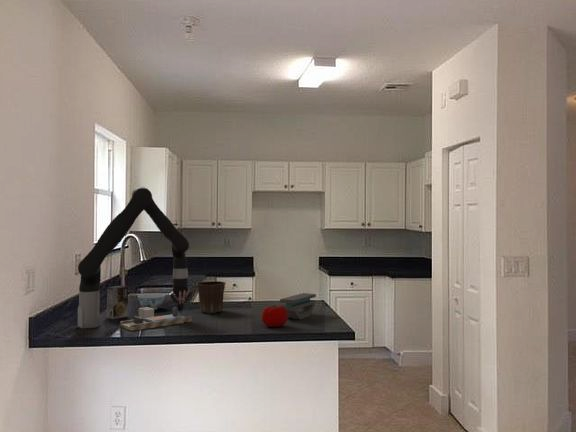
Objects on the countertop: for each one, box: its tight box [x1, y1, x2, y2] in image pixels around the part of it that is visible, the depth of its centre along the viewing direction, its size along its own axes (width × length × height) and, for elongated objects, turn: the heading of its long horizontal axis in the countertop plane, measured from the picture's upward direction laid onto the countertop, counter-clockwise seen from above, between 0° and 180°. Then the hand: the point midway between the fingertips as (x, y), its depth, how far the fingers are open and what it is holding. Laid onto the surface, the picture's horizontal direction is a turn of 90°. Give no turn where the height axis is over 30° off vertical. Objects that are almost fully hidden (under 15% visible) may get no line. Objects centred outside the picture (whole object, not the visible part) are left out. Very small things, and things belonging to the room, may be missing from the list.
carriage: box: [144, 307, 183, 322], centre depth 260 cm, size 16×9×5 cm, turn 131°
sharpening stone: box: [279, 292, 317, 320], centre depth 276 cm, size 25×8×11 cm, turn 150°
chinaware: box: [137, 293, 166, 311], centre depth 300 cm, size 15×15×8 cm
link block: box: [138, 307, 155, 318], centre depth 268 cm, size 5×7×6 cm
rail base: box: [119, 312, 193, 332], centre depth 258 cm, size 32×13×4 cm, turn 131°
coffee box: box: [106, 285, 129, 320], centre depth 276 cm, size 9×6×16 cm
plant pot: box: [196, 280, 227, 314], centre depth 292 cm, size 16×16×16 cm
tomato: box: [261, 304, 288, 328], centre depth 252 cm, size 11×13×10 cm
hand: (180, 311), depth 267 cm, fingers closed
